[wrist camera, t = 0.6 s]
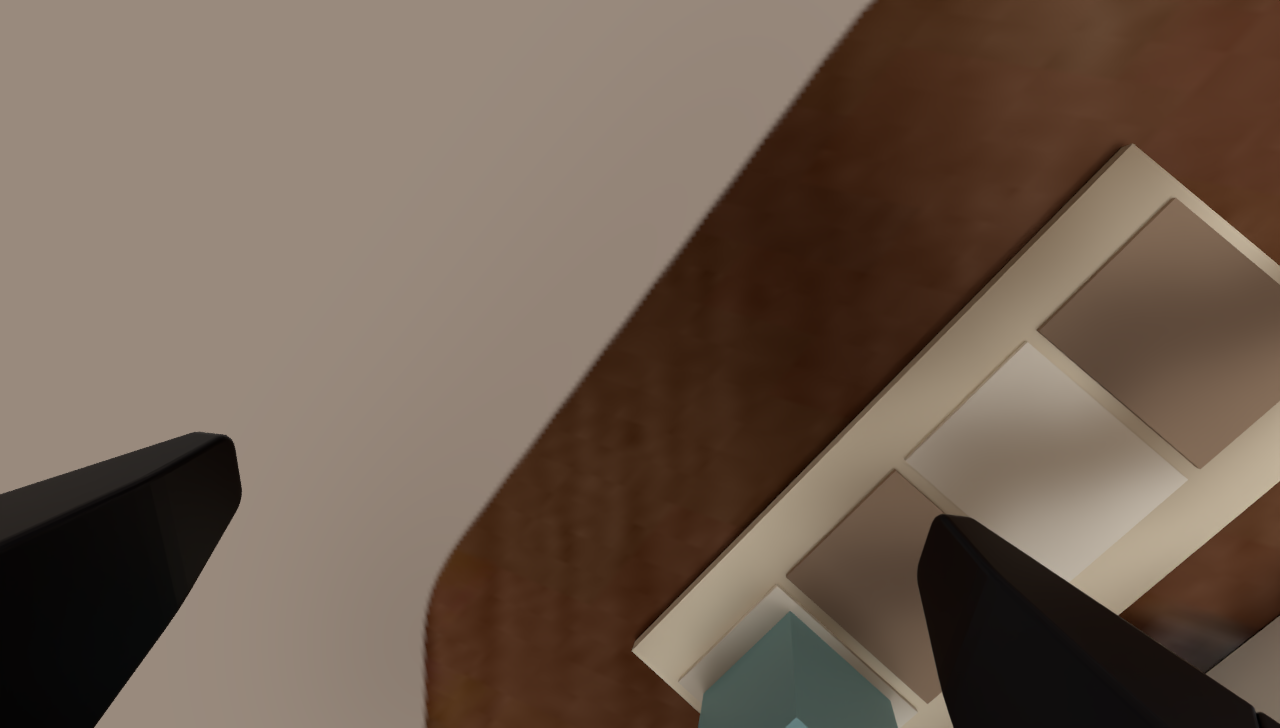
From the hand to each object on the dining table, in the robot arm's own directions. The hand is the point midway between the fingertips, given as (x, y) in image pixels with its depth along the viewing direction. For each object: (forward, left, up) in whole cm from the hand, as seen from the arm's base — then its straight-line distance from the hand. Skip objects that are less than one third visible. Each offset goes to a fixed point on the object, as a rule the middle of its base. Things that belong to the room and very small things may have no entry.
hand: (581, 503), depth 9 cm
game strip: (-9, -2, -13) cm, 16 cm away
